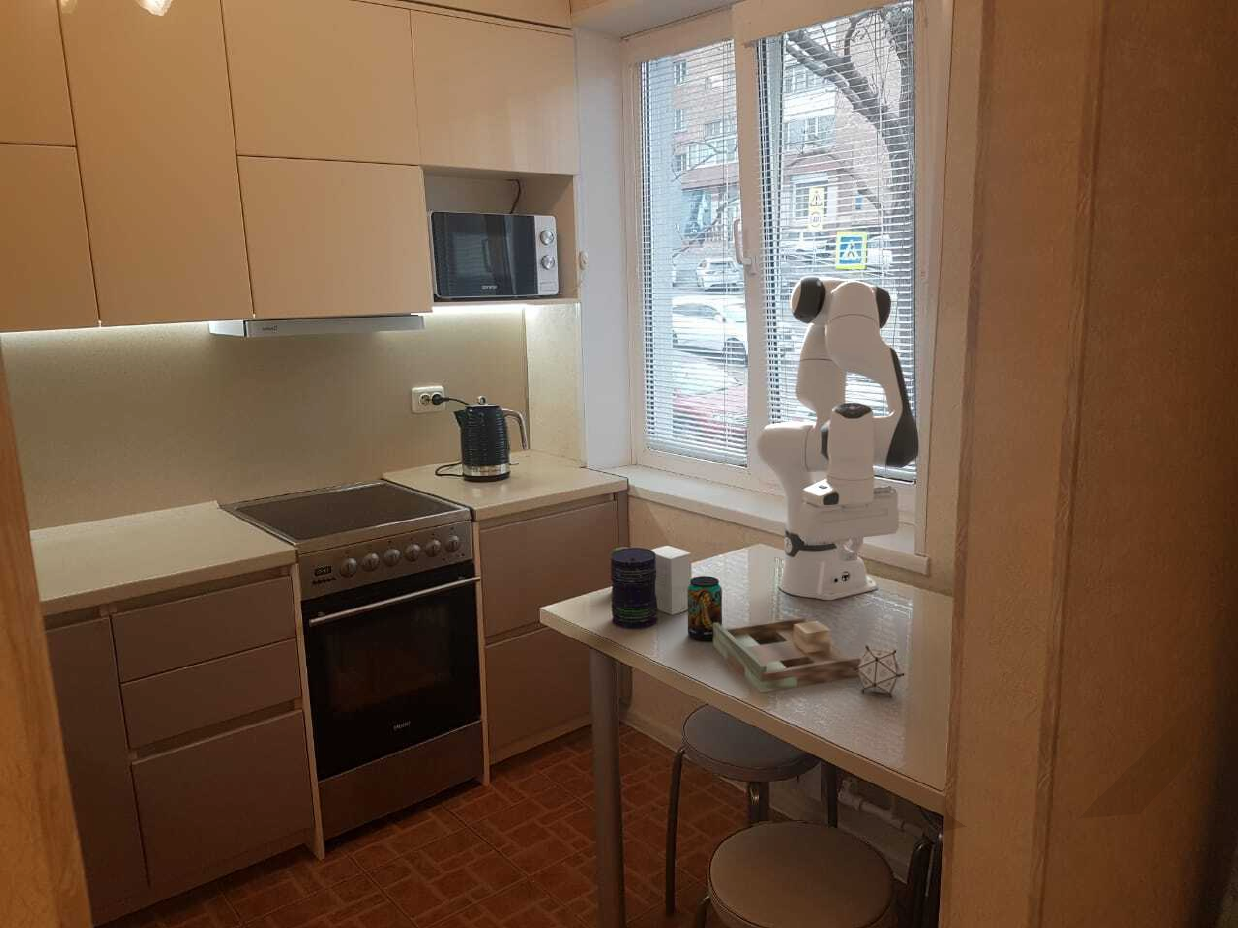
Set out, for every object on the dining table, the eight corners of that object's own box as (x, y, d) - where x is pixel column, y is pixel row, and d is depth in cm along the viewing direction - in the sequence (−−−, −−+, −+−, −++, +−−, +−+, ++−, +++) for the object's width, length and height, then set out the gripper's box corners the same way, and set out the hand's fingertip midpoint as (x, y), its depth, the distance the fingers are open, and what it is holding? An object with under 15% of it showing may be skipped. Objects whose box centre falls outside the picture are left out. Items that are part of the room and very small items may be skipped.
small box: (692, 608, 205) (692, 552, 203) (671, 615, 201) (670, 558, 199) (668, 599, 211) (667, 544, 209) (647, 605, 208) (646, 550, 205)
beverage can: (692, 643, 186) (691, 587, 183) (684, 630, 193) (683, 576, 190) (725, 640, 187) (725, 584, 184) (717, 628, 194) (716, 573, 191)
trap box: (802, 632, 190) (802, 609, 189) (859, 675, 170) (860, 650, 169) (713, 646, 185) (712, 622, 184) (761, 692, 164) (761, 666, 163)
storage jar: (612, 612, 204) (611, 548, 201) (657, 612, 204) (656, 547, 200) (611, 630, 194) (609, 562, 191) (657, 629, 194) (656, 561, 191)
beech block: (816, 639, 181) (817, 620, 181) (829, 649, 177) (829, 629, 176) (793, 643, 180) (794, 624, 179) (806, 653, 175) (806, 633, 174)
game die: (866, 709, 165) (841, 656, 168) (909, 690, 165) (884, 638, 168) (872, 706, 156) (846, 651, 160) (919, 687, 156) (891, 632, 160)
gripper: (888, 481, 180) (885, 549, 183) (794, 491, 174) (793, 561, 177) (907, 488, 174) (904, 558, 177) (810, 498, 168) (809, 570, 171)
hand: (848, 560), depth 177 cm, fingers closed
